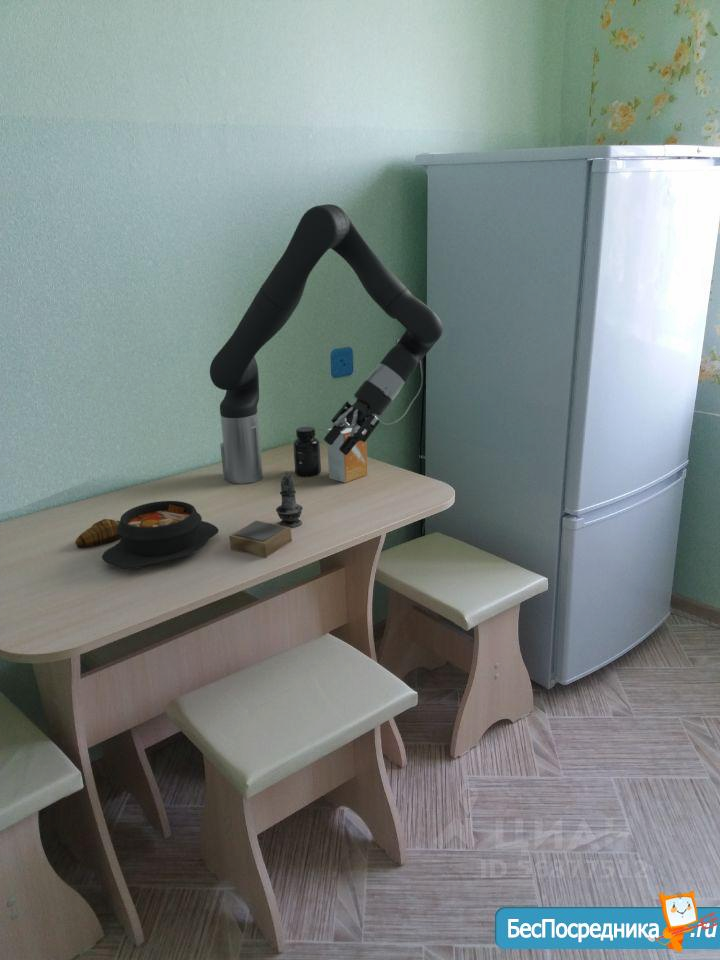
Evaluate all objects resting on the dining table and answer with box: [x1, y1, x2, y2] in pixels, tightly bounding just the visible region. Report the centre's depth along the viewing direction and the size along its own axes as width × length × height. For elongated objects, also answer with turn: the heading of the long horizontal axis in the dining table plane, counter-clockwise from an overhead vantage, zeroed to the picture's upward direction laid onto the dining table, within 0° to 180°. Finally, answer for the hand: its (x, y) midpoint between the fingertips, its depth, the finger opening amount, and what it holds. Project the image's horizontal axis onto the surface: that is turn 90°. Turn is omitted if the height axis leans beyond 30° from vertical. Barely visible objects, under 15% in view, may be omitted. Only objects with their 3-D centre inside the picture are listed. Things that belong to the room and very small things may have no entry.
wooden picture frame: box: [228, 520, 293, 558], centre depth 163 cm, size 9×9×3 cm
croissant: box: [75, 518, 122, 549], centre depth 168 cm, size 14×7×5 cm, turn 131°
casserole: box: [101, 500, 219, 569], centre depth 161 cm, size 25×19×8 cm
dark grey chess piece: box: [275, 472, 304, 529], centre depth 172 cm, size 6×6×12 cm
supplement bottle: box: [292, 426, 322, 478], centre depth 203 cm, size 7×7×12 cm
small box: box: [326, 424, 368, 484], centre depth 199 cm, size 8×6×13 cm
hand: (334, 447), depth 173 cm, fingers open, 8 cm apart
